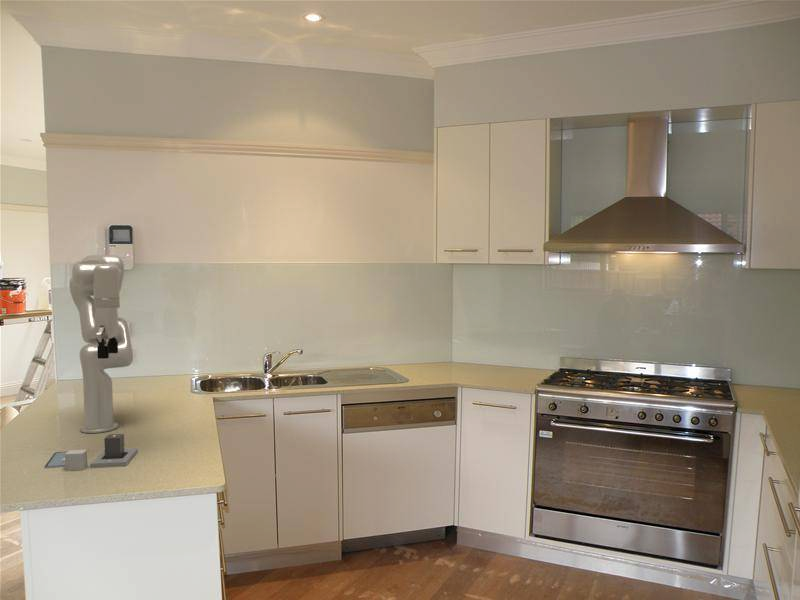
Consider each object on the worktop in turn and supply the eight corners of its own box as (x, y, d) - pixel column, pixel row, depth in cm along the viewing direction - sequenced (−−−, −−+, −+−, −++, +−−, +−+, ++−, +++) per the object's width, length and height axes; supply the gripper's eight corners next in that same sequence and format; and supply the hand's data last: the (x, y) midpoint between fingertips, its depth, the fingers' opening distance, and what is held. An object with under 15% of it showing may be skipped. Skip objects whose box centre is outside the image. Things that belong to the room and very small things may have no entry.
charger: (109, 456, 194) (108, 434, 194) (124, 455, 195) (123, 433, 195) (104, 460, 190) (104, 438, 190) (120, 460, 191) (119, 437, 190)
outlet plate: (104, 453, 199) (104, 449, 198) (137, 451, 200) (137, 447, 200) (90, 467, 185) (90, 463, 185) (125, 465, 186) (125, 461, 186)
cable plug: (65, 467, 185) (64, 450, 185) (87, 466, 186) (87, 449, 186) (61, 471, 182) (60, 454, 182) (83, 470, 183) (83, 453, 183)
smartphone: (43, 467, 184) (54, 452, 198) (43, 470, 184) (54, 454, 198) (70, 465, 186) (80, 450, 200) (70, 467, 186) (80, 452, 200)
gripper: (103, 301, 208) (104, 351, 209) (85, 305, 191) (86, 360, 192) (126, 301, 209) (127, 351, 211) (110, 305, 192) (112, 360, 194)
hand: (108, 355), depth 202 cm, fingers open, 9 cm apart
